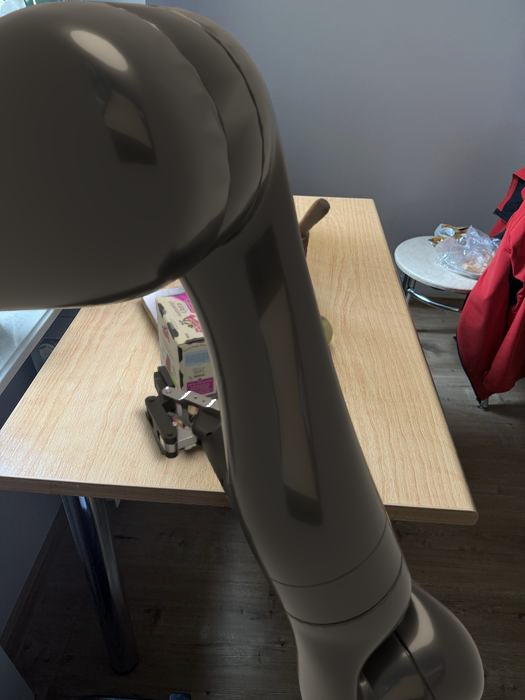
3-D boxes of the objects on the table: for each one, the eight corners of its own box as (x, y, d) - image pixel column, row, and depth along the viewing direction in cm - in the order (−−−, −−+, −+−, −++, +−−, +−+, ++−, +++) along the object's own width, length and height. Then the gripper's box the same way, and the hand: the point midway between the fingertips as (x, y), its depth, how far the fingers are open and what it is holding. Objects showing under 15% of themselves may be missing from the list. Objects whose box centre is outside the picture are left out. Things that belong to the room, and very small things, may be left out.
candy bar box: (222, 442, 68) (220, 336, 58) (184, 452, 66) (176, 345, 57) (197, 389, 76) (191, 289, 67) (162, 397, 74) (152, 296, 65)
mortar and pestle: (320, 288, 103) (331, 186, 91) (319, 311, 96) (331, 204, 84) (261, 283, 103) (264, 181, 92) (255, 306, 96) (258, 199, 85)
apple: (328, 334, 90) (332, 304, 86) (333, 362, 83) (337, 331, 80) (293, 333, 90) (295, 303, 86) (295, 361, 83) (297, 330, 80)
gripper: (348, 418, 43) (264, 318, 55) (182, 470, 38) (128, 348, 50) (337, 479, 48) (261, 374, 60) (186, 533, 43) (136, 407, 54)
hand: (201, 362), depth 55 cm, fingers open, 8 cm apart
